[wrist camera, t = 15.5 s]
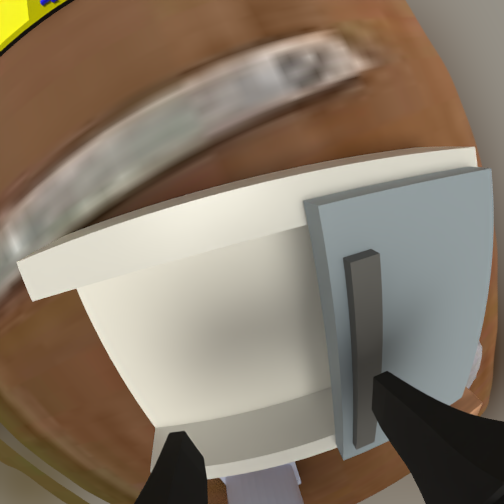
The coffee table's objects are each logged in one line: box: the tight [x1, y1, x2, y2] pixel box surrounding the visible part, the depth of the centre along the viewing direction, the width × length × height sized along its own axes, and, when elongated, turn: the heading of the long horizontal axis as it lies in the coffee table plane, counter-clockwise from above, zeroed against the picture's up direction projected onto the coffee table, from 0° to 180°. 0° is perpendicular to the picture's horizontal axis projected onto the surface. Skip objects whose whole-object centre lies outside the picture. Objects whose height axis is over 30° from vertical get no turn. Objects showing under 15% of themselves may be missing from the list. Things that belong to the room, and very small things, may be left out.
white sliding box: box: [17, 147, 477, 479], centre depth 16 cm, size 18×24×6 cm
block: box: [450, 387, 482, 416], centre depth 18 cm, size 4×4×4 cm
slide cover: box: [303, 166, 494, 460], centre depth 12 cm, size 16×10×2 cm, turn 13°
